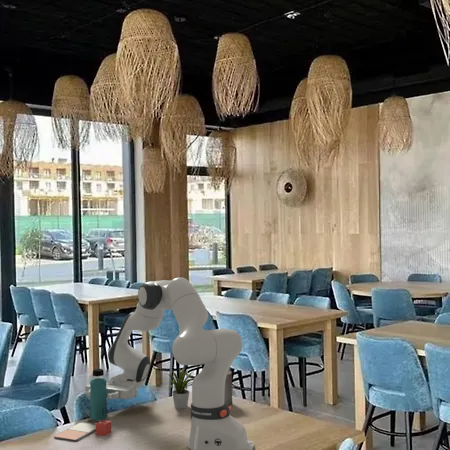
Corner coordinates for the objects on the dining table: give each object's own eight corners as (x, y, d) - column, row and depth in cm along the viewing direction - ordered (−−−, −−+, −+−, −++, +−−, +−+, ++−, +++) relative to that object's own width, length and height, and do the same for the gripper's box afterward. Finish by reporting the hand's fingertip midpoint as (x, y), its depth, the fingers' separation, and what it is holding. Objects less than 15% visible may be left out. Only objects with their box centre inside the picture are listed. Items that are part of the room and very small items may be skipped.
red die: (111, 432, 214) (111, 420, 214) (105, 435, 211) (105, 424, 211) (102, 430, 216) (102, 419, 216) (95, 434, 212) (95, 422, 212)
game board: (103, 426, 220) (103, 424, 220) (76, 441, 205) (76, 439, 205) (81, 423, 224) (81, 421, 224) (52, 438, 208) (52, 436, 208)
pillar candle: (222, 399, 254) (221, 364, 254) (237, 405, 246) (236, 369, 246) (204, 404, 248) (203, 368, 248) (218, 409, 240) (218, 373, 240)
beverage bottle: (103, 425, 222) (103, 371, 222) (86, 424, 223) (86, 371, 223) (110, 419, 228) (109, 367, 228) (94, 418, 230) (93, 367, 230)
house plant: (177, 415, 233) (177, 374, 233) (155, 408, 242) (155, 368, 243) (203, 407, 243) (203, 367, 243) (181, 400, 253) (181, 362, 253)
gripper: (96, 376, 243) (75, 385, 230) (140, 381, 235) (121, 390, 222) (96, 392, 242) (76, 401, 230) (140, 397, 235) (121, 407, 222)
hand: (98, 395), depth 226 cm, fingers open, 8 cm apart
